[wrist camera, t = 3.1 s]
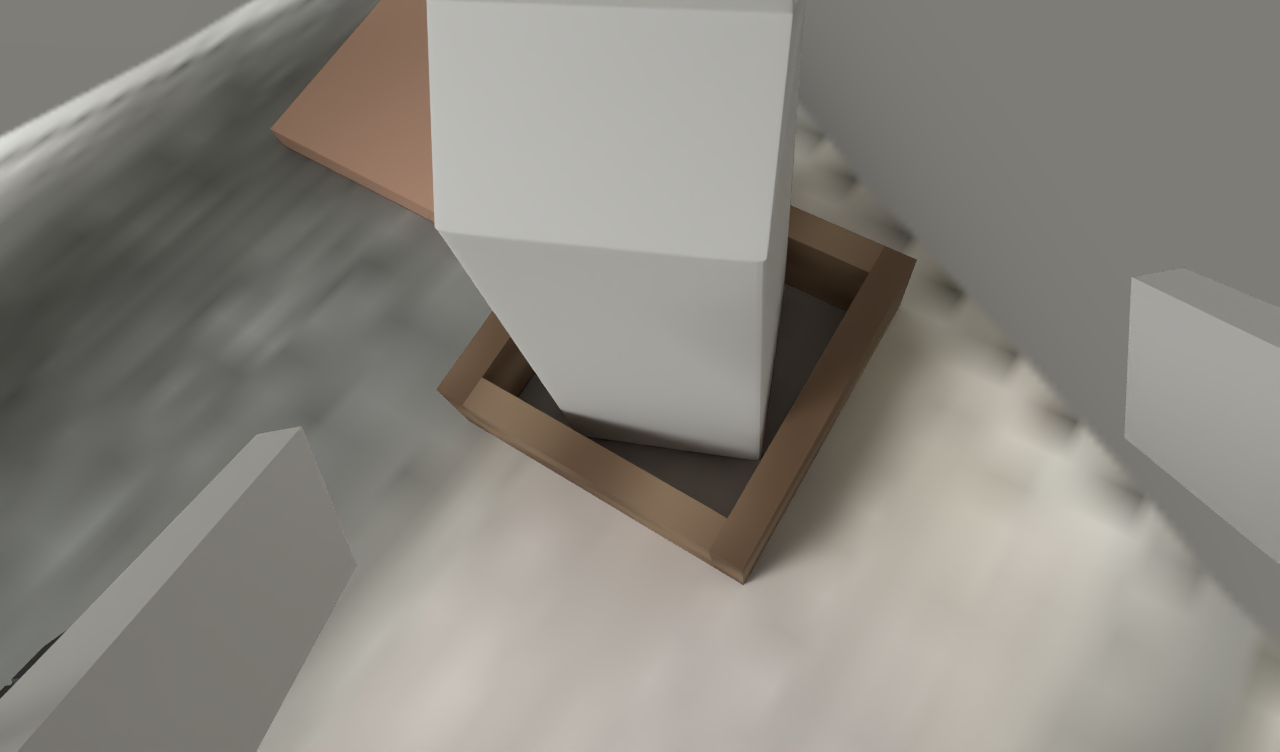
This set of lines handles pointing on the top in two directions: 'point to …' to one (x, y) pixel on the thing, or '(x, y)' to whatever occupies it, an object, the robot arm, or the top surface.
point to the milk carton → (625, 200)
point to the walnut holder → (871, 297)
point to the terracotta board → (373, 108)
